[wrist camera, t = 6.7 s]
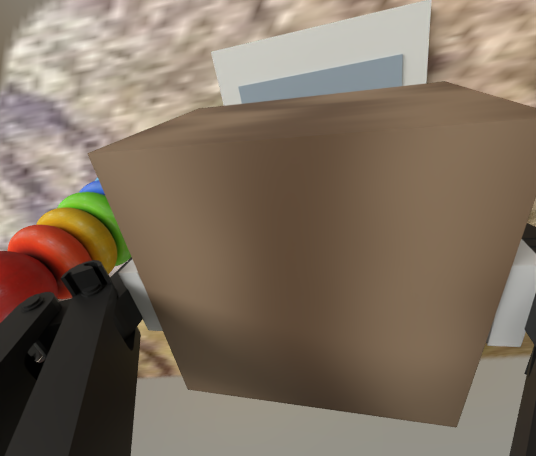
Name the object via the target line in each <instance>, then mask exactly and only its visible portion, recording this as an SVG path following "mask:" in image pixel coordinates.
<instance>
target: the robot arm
mask: <svg viewBox="0 0 536 456" xmlns="http://www.w3.org/2000/svg"><path fill="white" fill-rule="evenodd" d="M60 279H61V280H62V282H63V283H64V285H65V286H66V288H67V289H68V291H69V292H70V294H71V295H72V299H68V300H64V301H60V302H59V300H58V299H57V298H56V296H55V295H54V293H52V292H43V293H40V294H35V295H33V296H31V297H29V298H27V299H26V300H25V301H23V302H22V303H20V304H19V305H18V306H17V307H16V308H15V309H14V310H13V311H12V312H11V313H10V314H9V315H8V316H7V317H6V318H5V319H4V320H3V321H2V322H1V323H0V456H131V444H132V432H133V420H134V408H135V396H136V384H137V373H138V361H139V349H140V337H141V335H140V331H139V329H138V327H137V326H138V324H139V323H140V322H141V320H142V319H143V321H144V322H145V324H146V326H147V328H148V330H153V331H163V330H162V327H161V325H160V323H159V320H158V318H157V316H156V313H155V311H154V309H153V306H152V304H151V301H150V299H149V297H148V294H147V292H146V290H145V287H144V285H143V283H142V280H141V278H140V276H139V273H138V271H137V269H136V266H135V264H134V262H133V259H132V257H131V258H130V259H129V260H128V262H126V263H125V264H124V265H123V266H122V267H121V268H120V269H119V270H118V271H117V272H116V273H114V274H113V275H112V276H111V277H109V275H108V273H107V271H106V270H105V268H104V266H103V264H102V262H100V261H99V260H92V261H87V262H84V263H81V264H79V265H77V266H75V267H73V268H71V269H70V270H68V271H67V272H66V273H64V274H63V276H62V277H61V278H60ZM525 332H526V333H527V334H528V336H529V337H530V339H531V340H532V342H533V343H534V348H533V351H532V354H531V357H530V359H529V362H528V365H527V368H526V371H525V374H526V375H527V376H526V381H525V385H524V391H523V395H522V400H521V404H520V409H519V414H518V418H517V423H516V428H515V432H514V437H513V441H512V446H511V451H510V456H536V227H534V226H532V225H530V224H528V223H527V224H526V227H525V230H524V233H523V236H522V239H521V241H520V244H519V247H518V250H517V253H516V256H515V259H514V262H513V265H512V268H511V271H510V274H509V276H508V279H507V282H506V285H505V288H504V291H503V294H502V297H501V300H500V303H499V306H498V308H497V311H496V314H495V317H494V320H493V323H492V326H491V329H490V332H489V335H488V338H487V340H486V343H487V345H488V346H510V347H521V344H522V341H523V338H524V335H525ZM42 356H43V357H42ZM41 357H42V358H41ZM40 358H41V360H40V361H39V362H36V361H38V360H39V359H40Z"/></svg>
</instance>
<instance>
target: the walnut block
mask: <svg viewBox="0 0 536 456" xmlns="http://www.w3.org/2000/svg"><path fill="white" fill-rule="evenodd" d="M88 156H89V158H90V160H91V163H92V165H93V167H94V170H95V172H96V174H97V177H98V179H99V182H100V184H101V186H102V189H103V191H104V193H105V196H106V198H107V200H108V203H109V205H110V207H111V210H112V212H113V214H114V217H115V219H116V222H117V224H118V226H119V229H120V231H121V233H122V236H123V238H124V240H125V243H126V245H127V247H128V250H129V252H130V254H131V257H132V259H133V262H134V264H135V266H136V269H137V271H138V273H139V276H140V278H141V280H142V283H143V285H144V287H145V290H146V292H147V294H148V297H149V299H150V301H151V304H152V306H153V309H154V311H155V313H156V316H157V318H158V320H159V323H160V325H161V327H162V330H163V332H164V334H165V337H166V339H167V341H168V344H169V346H170V349H171V351H172V353H173V356H174V358H175V360H176V363H177V365H178V367H179V370H180V372H181V374H182V377H183V379H184V381H185V384H186V386H187V388H188V390H195V391H202V392H209V393H216V394H224V395H231V396H238V397H245V398H252V399H259V400H266V401H274V402H281V403H287V404H294V405H301V406H309V407H315V408H322V409H330V410H337V411H344V412H351V413H358V414H366V415H372V416H379V417H386V418H393V419H401V420H407V421H414V422H421V423H429V424H436V425H443V426H450V427H457V425H458V422H459V419H460V416H461V413H462V410H463V407H464V404H465V402H466V399H467V396H468V393H469V390H470V387H471V384H472V381H473V378H474V375H475V372H476V370H477V367H478V364H479V361H480V358H481V355H482V352H483V349H484V346H485V343H486V340H487V338H488V335H489V332H490V329H491V326H492V323H493V320H494V317H495V314H496V311H497V308H498V306H499V303H500V300H501V297H502V294H503V291H504V288H505V285H506V282H507V279H508V276H509V274H510V271H511V268H512V265H513V262H514V259H515V256H516V253H517V250H518V247H519V244H520V241H521V239H522V236H523V233H524V230H525V227H526V224H527V221H528V218H529V215H530V212H531V209H532V207H533V204H534V201H535V198H536V108H534V107H530V106H527V105H523V104H520V103H517V102H513V101H510V100H506V99H503V98H500V97H496V96H493V95H489V94H486V93H483V92H479V91H476V90H472V89H469V88H466V87H462V86H459V85H455V84H452V83H448V82H445V81H444V82H435V83H426V84H417V85H408V86H399V87H390V88H380V89H371V90H362V91H353V92H344V93H335V94H326V95H317V96H308V97H299V98H290V99H281V100H272V101H263V102H254V103H245V104H236V105H226V106H217V107H208V108H199V109H196V110H194V111H191V112H189V113H186V114H184V115H181V116H179V117H177V118H174V119H172V120H169V121H167V122H164V123H162V124H159V125H157V126H154V127H152V128H149V129H147V130H144V131H142V132H139V133H137V134H134V135H132V136H129V137H127V138H125V139H122V140H120V141H117V142H115V143H112V144H110V145H107V146H105V147H102V148H100V149H97V150H95V151H92V152H90V153H88Z"/></svg>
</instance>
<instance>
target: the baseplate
mask: <svg viewBox="0 0 536 456" xmlns="http://www.w3.org/2000/svg"><path fill="white" fill-rule="evenodd" d="M430 15H431V0H425V1H421V2H417V3H413V4H409V5H404V6H400V7H396V8H392V9H388V10H384V11H379V12H375V13H371V14H367V15H363V16H358V17H354V18H350V19H346V20H342V21H338V22H333V23H329V24H325V25H321V26H317V27H313V28H308V29H304V30H300V31H296V32H292V33H288V34H283V35H279V36H275V37H271V38H267V39H262V40H258V41H254V42H250V43H246V44H242V45H237V46H233V47H229V48H225V49H221V50H217V51H212V52H211V54H212V58H213V62H214V66H215V71H216V75H217V79H218V83H219V87H220V92H221V96H222V100H223V104H224V106H226V105H236V104H245V103H254V102H263V101H272V100H281V99H290V98H299V97H308V96H317V95H326V94H335V93H344V92H353V91H362V90H371V89H380V88H390V87H399V86H408V85H417V84H426V81H427V64H428V48H429V32H430Z"/></svg>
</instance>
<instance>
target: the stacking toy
mask: <svg viewBox="0 0 536 456" xmlns="http://www.w3.org/2000/svg"><path fill="white" fill-rule="evenodd" d="M130 258H131V254H130V252H129V250H128V247H127V245H126V243H125V240H124V238H123V236H122V233H121V231H120V229H119V226H118V224H117V222H116V219H115V217H114V214H113V212H112V210H111V207H110V205H109V203H108V200H107V198H106V196H105V193H104V191H103V189H102V186H101V184H100V182H99V179H98V177H97V179H96V180H95V181H94V182H91V183H89V184H87V185H86V186H85V187H83V188H82V189H81V190H80V192H79V193H76V194H73V195H70V196H68V197H67V198H65V199H64V200H63V201H62V202H61V203H60V204H59V206H58V208H57V209H53V210H51V211H49V212H47V213H45V214H44V215H43V216H42V217H41V218H40V219H39V220H38V222H37V224H36V225H32V226H28V227H25V228H23V229H21V230H20V231H18V232H17V233H16V234H15V235H14V236H13V237H12V238H11V240H10V242H9V245H8V251H0V323H1V322H2V321H3V320H4V319H5V318H6V317H7V316H8V315H9V314H10V313H11V312H12V311H13V310H14V309H15V308H16V307H17V306H18V305H19V304H20V303H22V302H23V301H25V300H26V299H27V298H29V297H31V296H33V295H35V294H40V293H43V292H52V293H54V295H55V296H56V298H57V299H69V298H72V295H71V294H70V292H69V291H68V289H67V288H66V286H65V285H64V283H63V282H62V280H61V279H60V278H61V277H62V276H63V274H64V273H66V272H67V271H68V270H70V269H71V268H73V267H75V266H77V265H79V264H81V263H84V262H87V261H92V260H99V261H100V262H102V264H103V266H104V268H105V270H106V271H107V273H108V274H109V273H110V272H111V271H112V270H113V268H114V266H118V265H120V264H123V263H124V262H126V261H127V260H128V259H130Z"/></svg>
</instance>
